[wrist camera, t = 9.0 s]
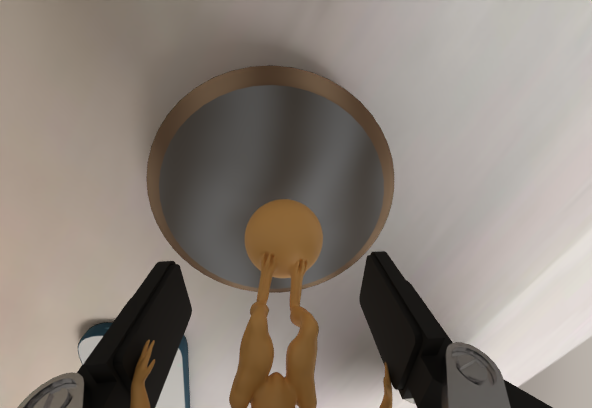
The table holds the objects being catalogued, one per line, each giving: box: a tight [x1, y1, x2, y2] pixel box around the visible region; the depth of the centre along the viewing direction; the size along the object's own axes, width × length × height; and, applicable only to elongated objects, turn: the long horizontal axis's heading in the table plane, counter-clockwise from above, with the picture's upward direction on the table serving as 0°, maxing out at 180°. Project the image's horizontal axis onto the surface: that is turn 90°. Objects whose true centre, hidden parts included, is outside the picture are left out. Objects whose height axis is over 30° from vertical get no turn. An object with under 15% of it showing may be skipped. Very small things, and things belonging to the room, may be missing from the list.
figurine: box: [130, 199, 392, 408], centre depth 8 cm, size 8×6×12 cm
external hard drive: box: [78, 323, 190, 408], centre depth 30 cm, size 24×12×2 cm, turn 170°
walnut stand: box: [147, 66, 394, 292], centre depth 18 cm, size 18×18×4 cm
